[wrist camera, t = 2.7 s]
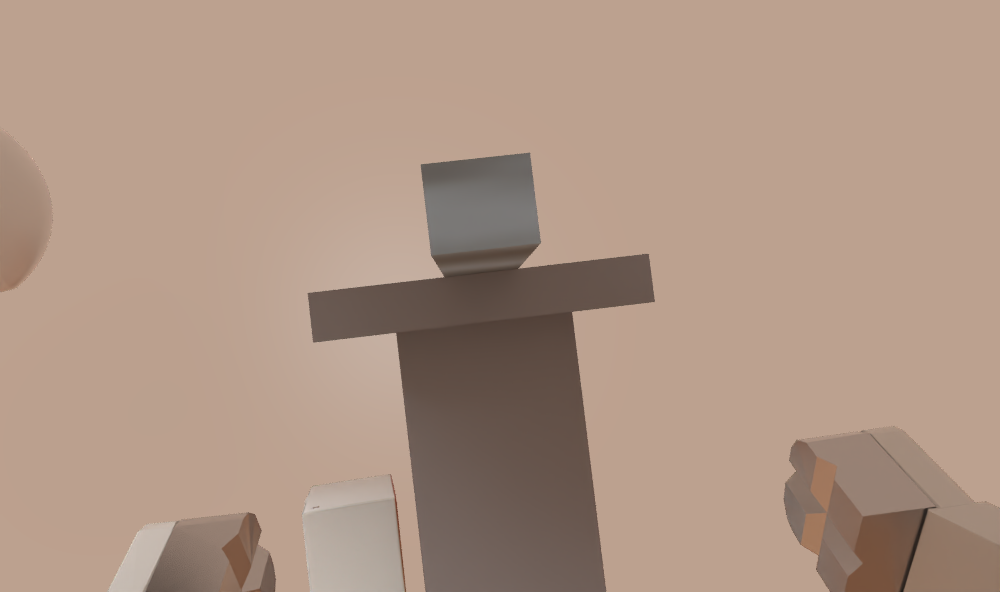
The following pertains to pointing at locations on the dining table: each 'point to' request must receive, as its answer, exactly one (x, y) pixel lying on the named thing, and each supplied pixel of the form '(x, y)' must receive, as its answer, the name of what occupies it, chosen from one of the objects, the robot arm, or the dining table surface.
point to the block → (481, 213)
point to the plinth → (495, 416)
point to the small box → (353, 537)
